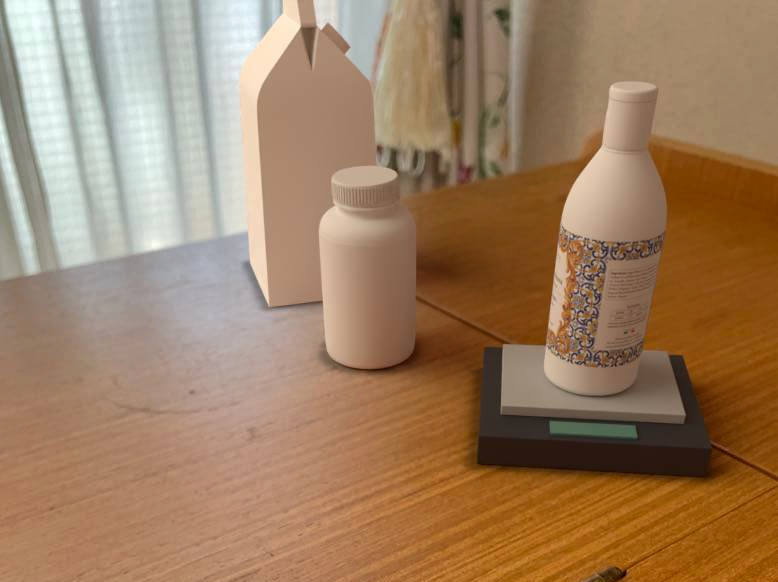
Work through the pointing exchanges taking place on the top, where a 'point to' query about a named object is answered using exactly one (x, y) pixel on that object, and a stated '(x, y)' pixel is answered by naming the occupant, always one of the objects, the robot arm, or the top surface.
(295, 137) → the milk
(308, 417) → the top surface
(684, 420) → the scale
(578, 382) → the bath foam
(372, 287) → the pill bottle
